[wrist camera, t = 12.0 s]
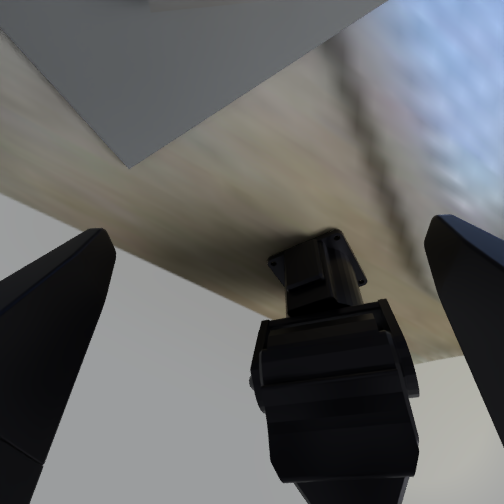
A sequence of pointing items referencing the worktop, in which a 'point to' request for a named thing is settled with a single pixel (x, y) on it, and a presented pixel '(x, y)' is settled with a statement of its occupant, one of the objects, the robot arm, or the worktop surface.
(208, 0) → the tan wooden block
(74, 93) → the mat
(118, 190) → the worktop surface
